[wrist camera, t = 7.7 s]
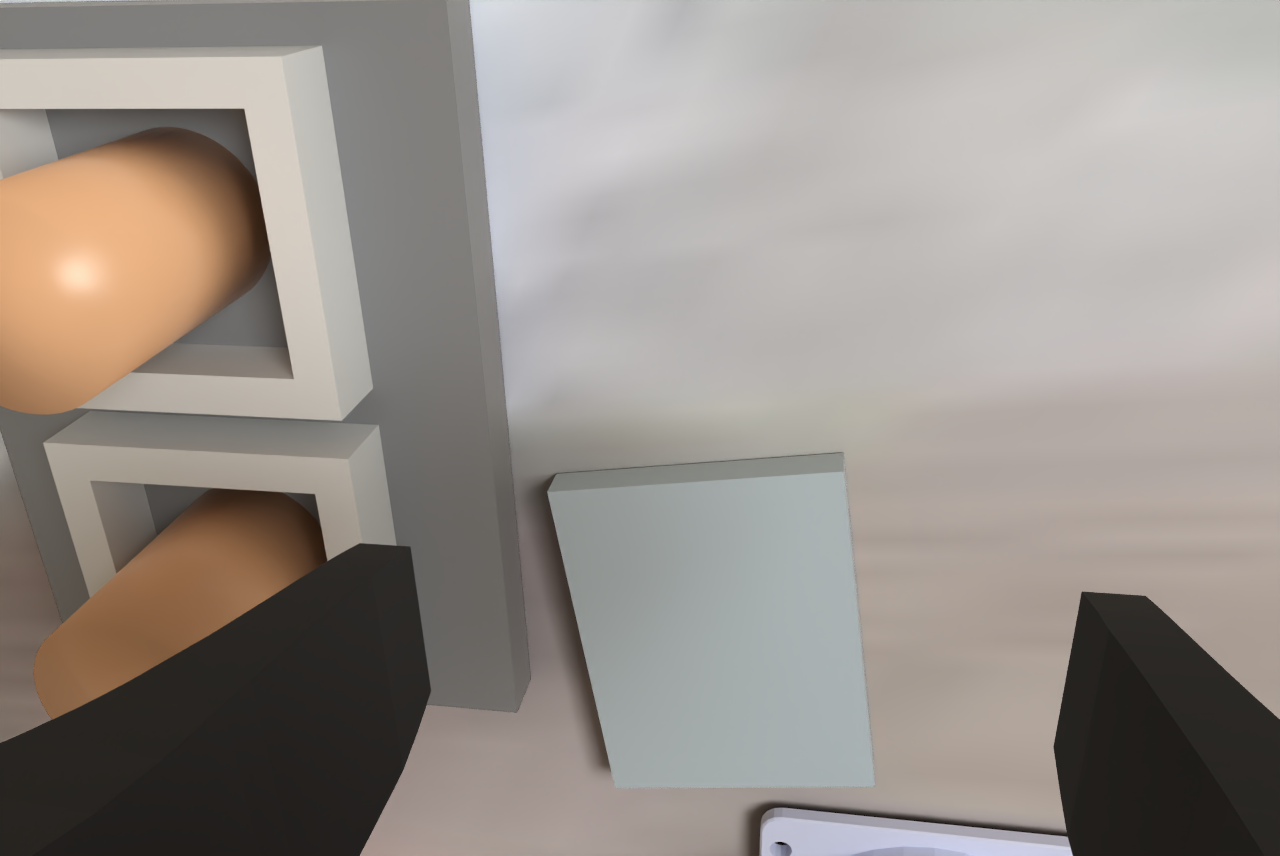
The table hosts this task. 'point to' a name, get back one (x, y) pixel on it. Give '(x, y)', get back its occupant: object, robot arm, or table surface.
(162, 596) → the jaw pin
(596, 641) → the lid
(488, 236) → the housing
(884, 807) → the table surface
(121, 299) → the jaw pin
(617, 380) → the table surface
